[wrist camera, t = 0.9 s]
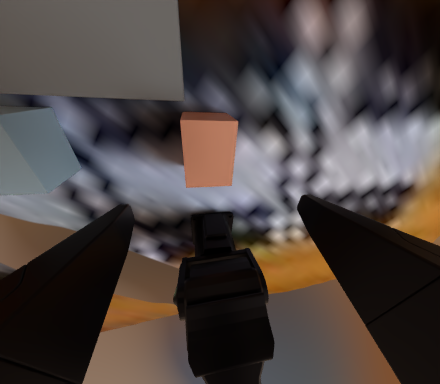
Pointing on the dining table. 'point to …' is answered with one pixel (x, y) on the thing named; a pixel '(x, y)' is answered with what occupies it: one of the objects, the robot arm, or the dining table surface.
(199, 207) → the dining table surface
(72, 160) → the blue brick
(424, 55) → the dining table surface
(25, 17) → the base plate
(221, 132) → the terracotta brick
